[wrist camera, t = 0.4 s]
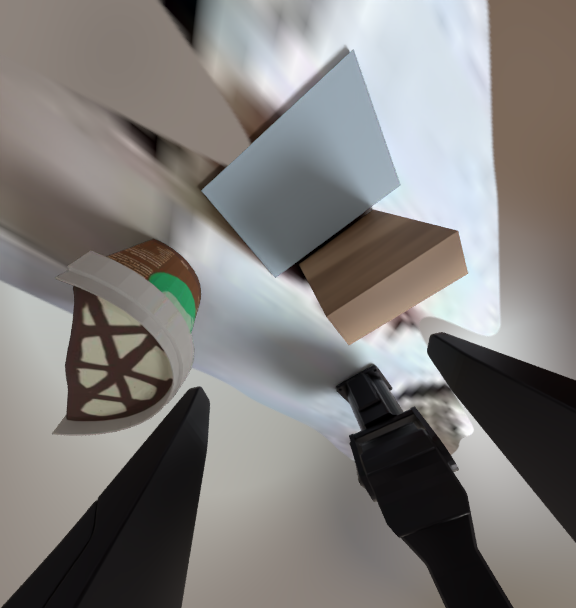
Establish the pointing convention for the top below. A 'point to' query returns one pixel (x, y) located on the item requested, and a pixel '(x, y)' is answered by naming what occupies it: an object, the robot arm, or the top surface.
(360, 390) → the robot arm
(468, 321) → the top surface
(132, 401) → the food container
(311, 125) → the board
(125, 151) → the top surface
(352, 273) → the wooden block
